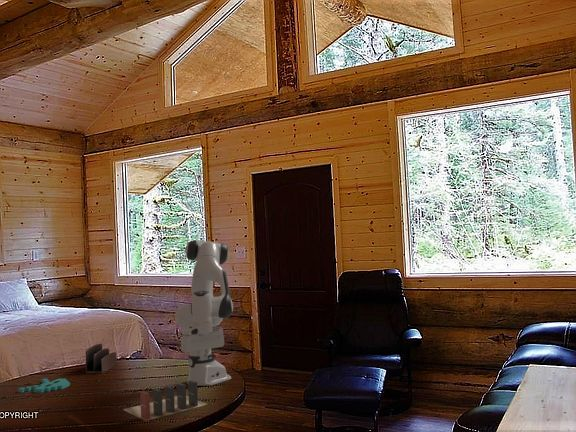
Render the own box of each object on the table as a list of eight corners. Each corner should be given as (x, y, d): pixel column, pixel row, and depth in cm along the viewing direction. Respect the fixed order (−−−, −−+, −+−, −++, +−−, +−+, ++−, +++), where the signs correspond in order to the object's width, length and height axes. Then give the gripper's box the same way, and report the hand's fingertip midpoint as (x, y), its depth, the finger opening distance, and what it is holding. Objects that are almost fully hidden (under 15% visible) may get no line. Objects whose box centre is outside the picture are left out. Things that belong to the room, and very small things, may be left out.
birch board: (183, 396, 253) (183, 394, 253) (208, 406, 236) (208, 404, 236) (123, 411, 234) (122, 409, 234) (145, 423, 217) (145, 421, 217)
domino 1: (157, 412, 228) (156, 388, 228) (162, 415, 224) (161, 390, 224) (153, 413, 227) (152, 389, 227) (159, 416, 223) (158, 391, 223)
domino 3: (180, 406, 235) (179, 382, 235) (186, 408, 231) (185, 384, 231) (177, 407, 234) (176, 383, 234) (183, 409, 230) (182, 385, 230)
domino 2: (169, 409, 231) (168, 385, 232) (174, 411, 227) (173, 387, 228) (165, 410, 230) (164, 386, 231) (171, 412, 226) (170, 388, 227)
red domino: (144, 415, 224) (143, 391, 225) (150, 418, 220) (149, 393, 221) (141, 416, 223) (140, 391, 224) (146, 419, 219) (145, 394, 220)
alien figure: (18, 393, 275) (53, 393, 271) (18, 388, 275) (53, 389, 271) (43, 382, 294) (77, 383, 290) (43, 378, 294) (77, 378, 290)
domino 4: (192, 403, 238) (191, 380, 239) (197, 405, 234) (197, 382, 235) (188, 404, 237) (187, 380, 238) (194, 406, 233) (193, 382, 234)
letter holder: (85, 373, 309) (84, 348, 310) (101, 365, 329) (100, 342, 329) (102, 373, 308) (101, 348, 309) (117, 365, 328) (116, 341, 328)
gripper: (218, 324, 250) (219, 355, 249) (178, 330, 237) (179, 362, 236) (226, 325, 245) (227, 357, 244) (185, 331, 232) (186, 364, 231)
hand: (203, 360), depth 240 cm, fingers closed
